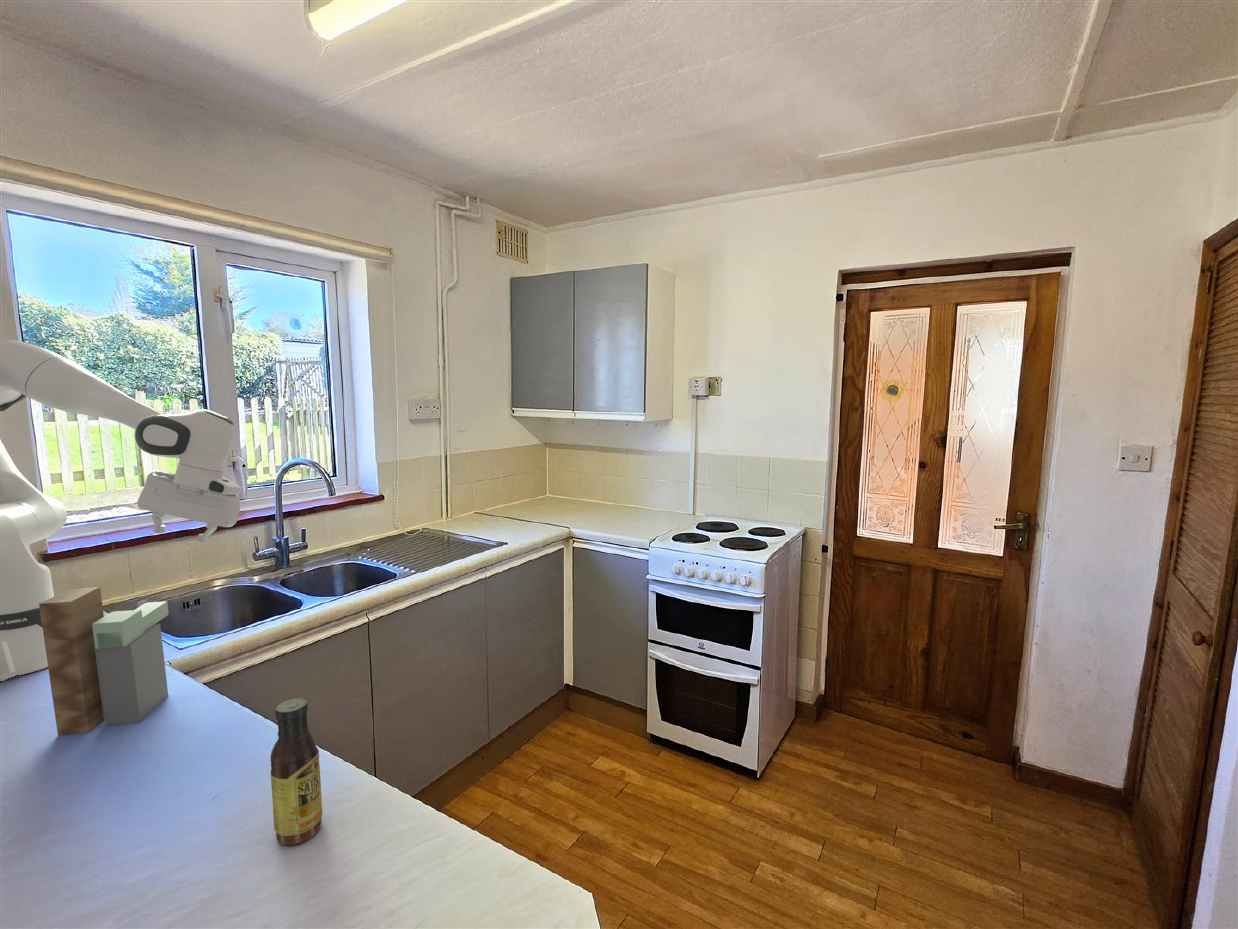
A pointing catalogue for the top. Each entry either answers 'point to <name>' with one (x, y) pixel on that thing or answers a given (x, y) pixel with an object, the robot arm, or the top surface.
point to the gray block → (132, 678)
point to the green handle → (127, 624)
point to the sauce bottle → (295, 776)
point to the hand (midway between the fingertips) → (180, 537)
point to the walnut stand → (73, 658)
